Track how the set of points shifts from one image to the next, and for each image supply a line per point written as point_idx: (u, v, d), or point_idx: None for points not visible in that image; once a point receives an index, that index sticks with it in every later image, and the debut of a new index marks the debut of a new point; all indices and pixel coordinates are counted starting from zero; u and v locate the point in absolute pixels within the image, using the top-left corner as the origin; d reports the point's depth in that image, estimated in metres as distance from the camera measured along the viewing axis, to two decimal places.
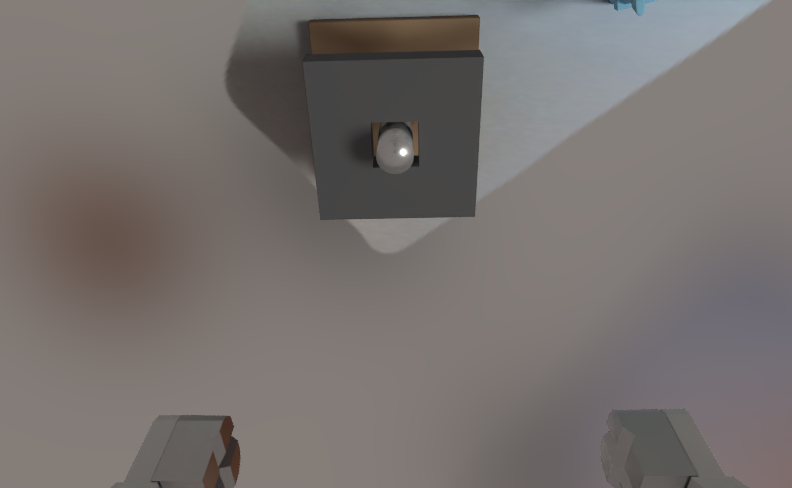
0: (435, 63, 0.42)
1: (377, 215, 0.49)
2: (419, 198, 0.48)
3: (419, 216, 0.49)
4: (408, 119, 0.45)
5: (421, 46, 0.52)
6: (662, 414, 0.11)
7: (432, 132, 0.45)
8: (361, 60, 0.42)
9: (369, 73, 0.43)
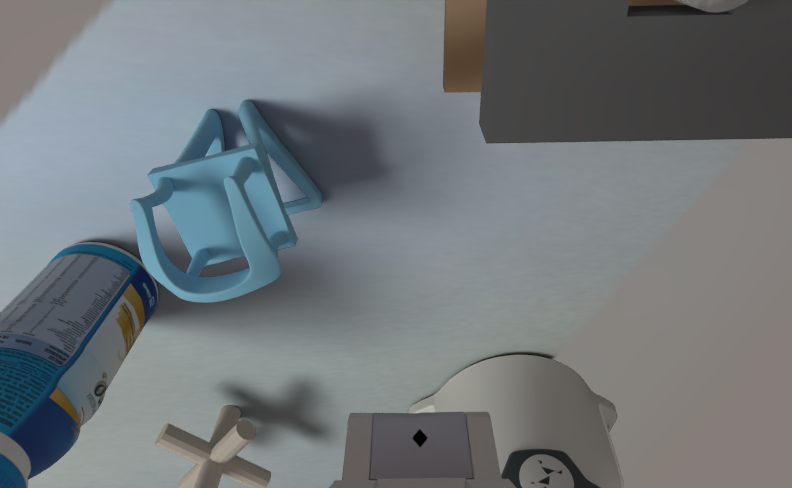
0: (574, 133, 0.23)
1: None
2: None
3: None
4: (648, 21, 0.21)
5: None
6: (462, 416, 0.11)
7: None
8: (706, 138, 0.23)
9: (700, 116, 0.23)
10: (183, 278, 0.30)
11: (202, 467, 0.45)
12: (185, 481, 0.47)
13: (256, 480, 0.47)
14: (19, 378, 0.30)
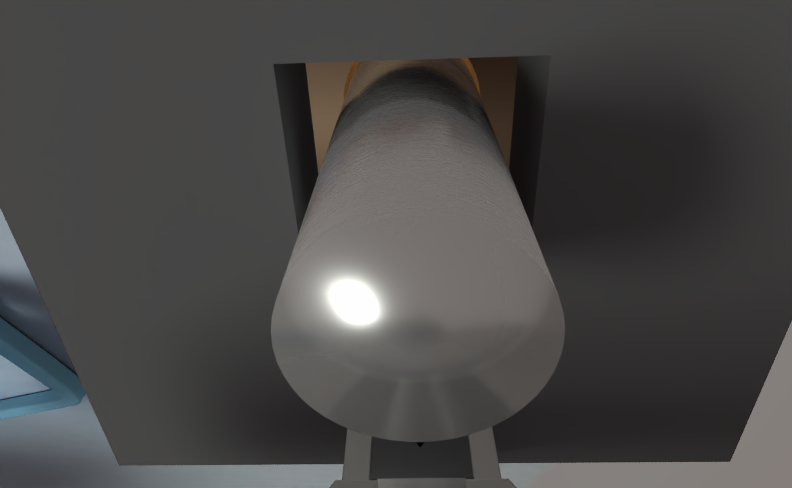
0: (273, 453, 0.12)
1: None
2: None
3: None
4: None
5: None
6: None
7: (236, 245, 0.10)
8: (524, 459, 0.12)
9: (503, 432, 0.12)
10: None
11: None
12: None
13: None
14: None
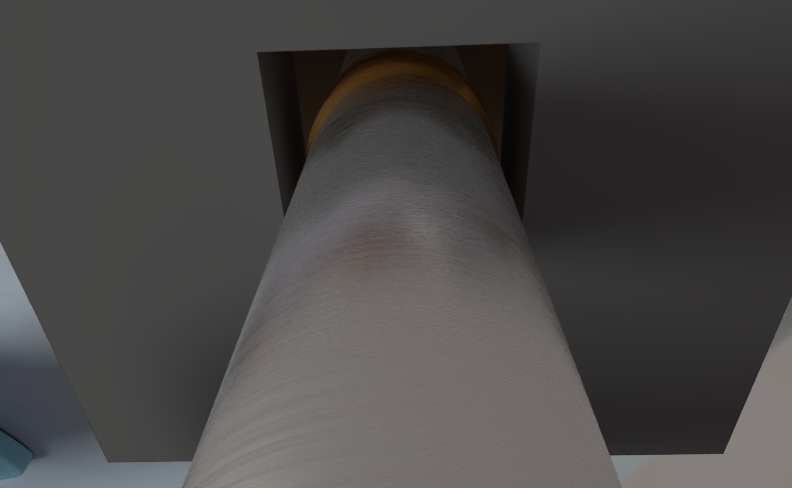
0: None
1: None
2: None
3: None
4: None
5: None
6: None
7: (223, 238, 0.09)
8: None
9: None
10: None
11: None
12: None
13: None
14: None
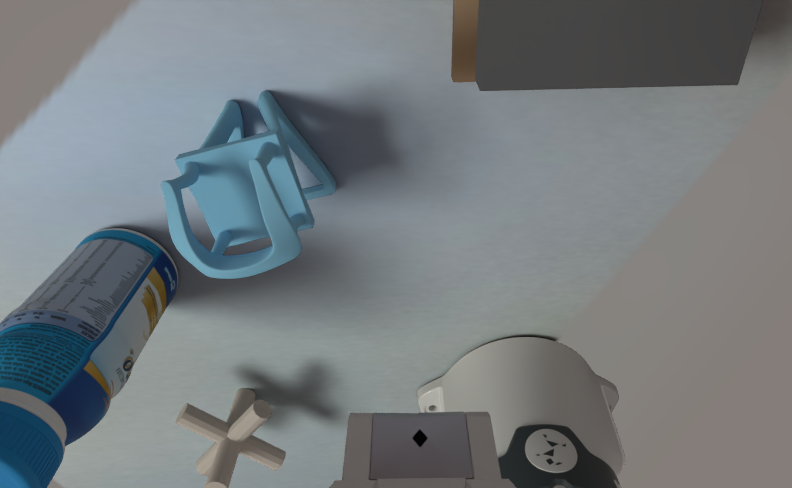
0: (548, 82, 0.30)
1: None
2: None
3: None
4: None
5: None
6: (462, 416, 0.11)
7: None
8: (652, 85, 0.30)
9: (646, 68, 0.29)
10: (209, 256, 0.31)
11: (220, 445, 0.47)
12: (203, 460, 0.49)
13: (272, 458, 0.49)
14: (56, 350, 0.32)
